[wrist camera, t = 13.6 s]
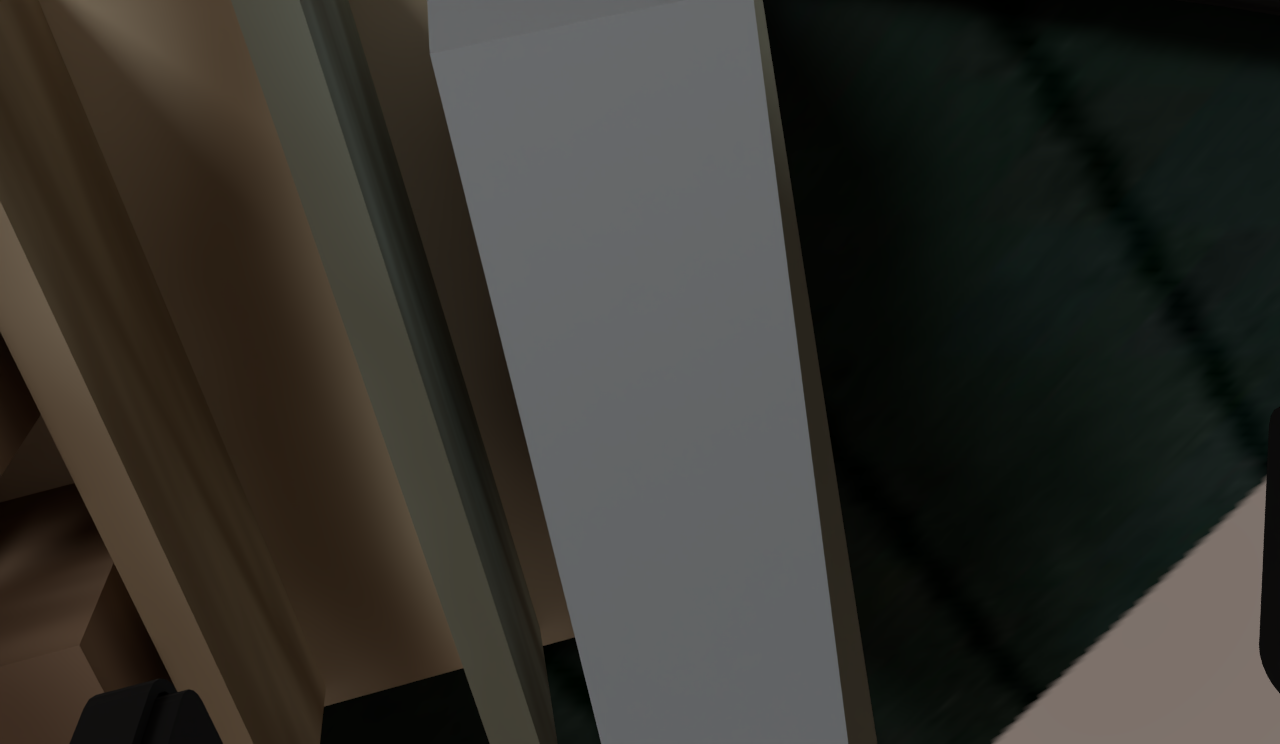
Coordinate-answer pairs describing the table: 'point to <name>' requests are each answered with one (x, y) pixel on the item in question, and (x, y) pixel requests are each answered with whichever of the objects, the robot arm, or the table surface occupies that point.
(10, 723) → the offcut
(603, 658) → the sheet
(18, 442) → the offcut
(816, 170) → the table surface
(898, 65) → the table surface
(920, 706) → the table surface
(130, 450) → the rack
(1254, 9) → the electric trimmer
